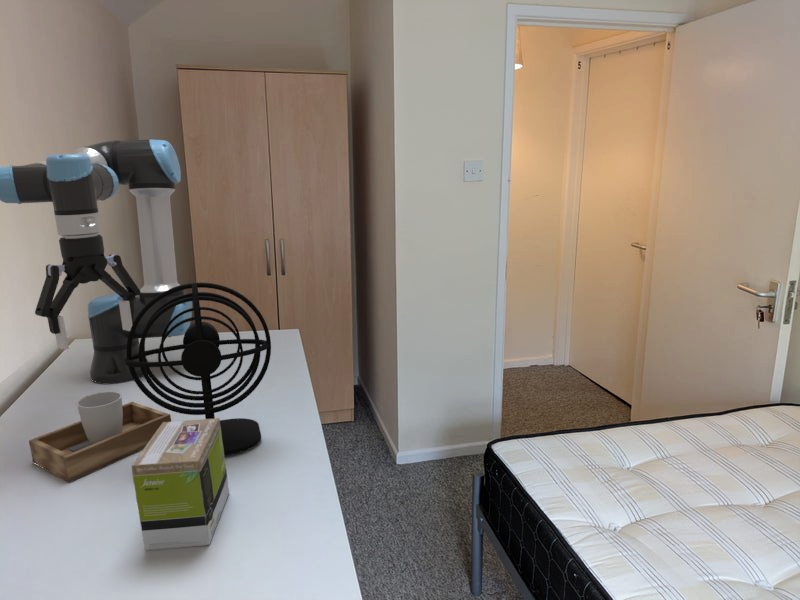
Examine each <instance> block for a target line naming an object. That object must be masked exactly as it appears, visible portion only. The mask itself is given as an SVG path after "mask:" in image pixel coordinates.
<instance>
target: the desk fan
mask: <svg viewBox="0 0 800 600" xmlns="http://www.w3.org/2000/svg"><path fill="white" fill-rule="evenodd" d="M199 288H200V289H202V288H204V289H205V288H206V289H214V290H219V291H222V292H225V293H228V294H230V295H232V296H234V297H236V298H238V299H239V300H241V301H242V302H244V303H245V304H246V305H247V306H248V307H249V308H250V309H251V310H252V311H253V312H254V313H255V315H256V316H257V318H258V319H259V321H260V323H261V325H262V328H263V330H264V335H265V339H260V337H259V333H258V330H257V328H256V326H255V323H254V321H253V320H252V318H251V316H250V315H249V313H248V312H247V311H246V310H245V309H244V308H243V306H241V305H240V304H239V303H237V302H236V301H234V300H233V299H231V298H229V297H227V296H225V295H221V294H219V293H213V292H207V291H205V292H204V291H202V292H201V291H199ZM188 289H191V290H192V291H191V292H189V293H184V295H181V296H178V297H176V298H173V299H171V300H170V301H168V302H166V303H165V304H163V305H162V306H161V307H160V308H159V309H158V310H157V311H156V312H155V313H154V314H153V315H152V316H151V318H150V319H149V321H148V323H147V324H146V327H145V329H144V332H143V334H142V337H141V338H140V339H139V353H136V354H133V355H132V340H133V336H134V332H135V329H136V327H137V325H138V323H139V321H140V320H141V318H142V317H143V315H144V314H145V313H146V312H147V311H148V309H149V308H150V307H152V306H153V305H154V304H155V303H156V302H158V301H159V300H161V299H162V298H164V297H166V296H168V295H170V294H172V293H174V292H177V291H180V290H184V291H185V290H188ZM189 301H192V308H191V309H187V310H185V311H183V312H181V313H179V314H177V315H176V316H175V317H174V318H172V319H171V321H170V322H169V323H168V324H167V326H166V327H165V329H164V332H163V335H162V337H161V339H160V344H159V347H157V348H154V349H153V348H152V349H149V350H148V349H147V350H146V347H145V346H146V339H147V338H146V335H147V332H148V331H149V329H150V327H151V326H152V324H153V323H154V322H155V321H156V319H157V318H158V317H159V316H161V315H162V314H163V313H164V312H166V311H167V310H169V309H170V308H172V307H174V306H176V305H179V304H182V303H185V302H189ZM200 301H208V302H215V303H218V304H222V305H224V306H227V307H228V308H231V309H232V310H234V312H237V314H239V315H241V317H242V318H243V319H244V320H245V321H246V322H247V324H248V325H249V326H250V328H251V330H252V333H253V336H254V338H241V335H240V331H239V329H238V327H237V324H235V322H234V320H232V318H230V316H228V315H227V314H226V313H225V312H224V311H223V312H222V311H221V310H219V309H215V308H213V307H207V306H201V305H200ZM190 311H192V312H193V314H194V316H192V317H191V318H188V319H185V320H183V321H181V322H179V323H177V324H176V325H174V326H173V327H172V328H171V329H170V330H169V331H168V332H167V333H166V331H167V329H168V328H169V326H170V325H171V323H172V322H173V321H174V320H175V319H177V318H178V317H179V316H181V315H183V314H185V313H187V312H190ZM201 311H210V312H214V313H216V314H218V315H221V316H222V317H224V318H225V319H226V320H227V321H228V322H229V323H230V324H231V325H232V326H233V327H231V326H230V324H228V323H226V322H224V321H223V320H221V319H218V318H215V317H211V316H206V315H205V316H202V314H201ZM202 320H206V321H207V320H208V321H212V322H215V323H219V324H221V325H223V326H224V327H225V328H227V329H228V330H229V331H230V332H231V333H232V334H233V336H235V338H236V339H233V338H232V339H220V334H219V332H218V329H217V328H216V327H215V326H214V325H213V324H211V323H209V322H206V321H202ZM189 321H194V322H193V323H192V324H190V326H189V328H188V329H187V330H186V332H185V334H184V336H183V339H182V344H177V345H170V346H165V347H164V343H165V342H166V339H167V338H168V337H167V336H168V335H169V334H170V333H171V332H172V331H173V330H174V329H175V328H177V327H178V326H180V325H181V324H183V323H186V322H189ZM233 328H234V329H233ZM165 333H166V334H165ZM244 344H245V345H248V344H249V345H254V348H251V349H247V350H244V349H243V345H244ZM221 345H223V346H224V345H237V348H236V349H237V350H236V352H233V353H232V352H231V353H226V354H222V352H221V350H220V348H219V347H220V346H221ZM180 350H183V351H182V353H181V356H180V360H168V357H167V356H166V352H172V351H180ZM263 351H265V358H264V362H263V365H262V368H261V370H260V371H259V373H258V375H257V377H256V378H255V380H254V381H253V383H252V384H251V382H252V380H253V378H254V377H255V375H256V373H257V372H258V371H257V370H258V368H259V365H260V361H261V352H263ZM156 354H157V361H148V359H147V356H152V355H156ZM249 355H253V357H252V359H251V363H250V365H249V366H248V369H246V370H247V371H246V372H245V373H244V374H243V375H242V377H241V378H240V379H239V380H238V381H236V382H235V383H234V384H232V385H231V386H229V387H228V388H226V386H228V385H229V384H230V383H232V382H233V381H234V380H235V378H236V377H237V375H239V372H240V370H241V368H242V364H243V361H244V357H245V356H246V357H247V356H249ZM271 356H272V342H271V336H270V330H269V328H268V326H267V323H266V320H265V318H264V316H263V314H262V313H261V312H260V311H259V309H258V307H257V306H256V305H255V304H254V303H253V302H252V301H251V300H249V299H248V298H247V297H246V296H244V295H243V294H241V293H240V292H238V291H237V290H234V289H232V288H231V287H227V286H225V285H222V284H221V285H220V284H217V283H211V282H192V283H191V282H190V283H185V284H180V286H176V287H173V288H171V289H169V290H166V291H164V292H163V293H161V294H159V295H158V296H156V297H155V298H153V299H152V300H151V301H150V302H149V303H148V304H147V305H146V306H145V307H144V308H143V309H142V310H141V311H140V313H139V314H138V316H137V317H136V319H135V321H134V323H133V325H132V327H131V330H130V332H129V336H128V340H127V357H126V358H125V365H127V366H129V370H130V373H131V375H132V377H133V381H134V383H135V384H136V386H137V387H138V389H139V390H140V391H141V392H142V393H143V394H144V395H145V397H147V398H148V399H149V400H150V401H152V402H153V403H155V404H156V405H158V406H159V407H161V408H164V409H165V410H169V411H171V412H174V413H178V414H180V415H181V414H182V415H188V416H189V415H191V416H204V417H205V418H204V419H214V418H216V416H215V413H220V412H224V411H225V410H228V409H230V408H232V407H234V406H236V405H238V404H239V403H241V402H243V401H244V400H245V399H246V398H248V397H249V395H251V394H252V393H253V392H254V391H255V390H256V388H258V386H259V385H260V383H261V382H262V380H263V379H264V377H265V375H266V373H267V370H268V367H269V364H270V360H271ZM162 357H163V360H164V361H162ZM138 358H139V362H137V361H133V360H135V359H138ZM238 358H240V359H239V363H238V365H237V368H236V369H235V371H234V373H233V375H231V377H229V379H228V380H226V381H225V382H224V383H223V384H221V385H219V386H217V387H215V388H212V381H211V380H212V379H215V378H218V377H219V376H222V375H223V374H225V373H226V372H228V371H229V370H230V368H231V367H233V365H234V364H235V362H236V361H237V359H238ZM146 359H147V360H146ZM225 360H231V362H230V363H229V364H228V365H227V366H226V367H225V368H224V369H222V370H221V371H220V372H217V373H215V372H216V371H217V370H218V369H219V368H220V366H221V363H222V361H225ZM147 361H148V362H147ZM178 366H182V367H183V369H184V370H185V371H186V372H187V373H188V375H187V374H185V373H183V372H181V371H179V370H178V369H177V368H175V367H178ZM135 367H140V368H141V371H142V374H143V376H142V377H143V378H144V379H145V381H146V383H147V384H148V385H149V387H150V388H151V389H152V390H153V391H154V392H155V393H156V394H158V396H160V397H161V398H159V397H158V396H157V395H155V394H154V393H153V392H151V391H150V390H149V389H148V387H147V386H146V385H145V384H144V382H143V381H142V379H141V377H139V376H138V374H137V372H136V370H135ZM164 367H165V368H167V367H169V369H171V371H173V372H174V373H175V374H177V375H178V376H180V377H183V378H184V379H187V380H192V381H201V389H202V390H192V389H188V388H184V387H182V386H180V385H178V384H177V383H175V382H174V381H173V380H172V379H171V378H170V377H169V376H168V375H167V373H166V371H165V370H164ZM152 368H159V370H160V372H161V374H162V376H163V377H164V379H165V380H166V381H167V382H168V383H169V384H170V385H171V386H172V387H174V388H175V389H177V390H179V391H181V392H184V393H180V392H178V391H175V390H173V389H171V388H169V387H168V386H167V385H165V384H163V382H161V381H160V380H159V379H158V378H157V376H155V374H154V373H153V371H152ZM213 373H215V374H213ZM189 374H190V375H189ZM212 374H213V375H212ZM191 375H192V376H191ZM249 384H251V385H250V386H249ZM248 386H249V388H247V387H248ZM223 388H225V389H224V390H222V389H223ZM246 388H247V389H246ZM245 389H246V390H245ZM220 390H221V391H220ZM243 390H245V391H244V392H243ZM218 391H219V392H218ZM165 392H166V393H165ZM241 392H243V393H242V394H241ZM185 393H187V394H185ZM229 393H230V394H229ZM189 394H190V395H189ZM239 394H240V395H239ZM170 395H171V396H170ZM225 395H226V396H225ZM238 395H239V396H238ZM173 396H174V397H173ZM223 396H224V397H223ZM236 396H238V397H236ZM221 397H222V398H221ZM235 397H236V398H235ZM162 398H163V399H164V400H166V401H168V402H166V401H164V400H163V399H162ZM177 398H179V399H177ZM218 398H219V399H218ZM233 398H234V399H233ZM180 399H183V400H180ZM215 399H216V400H215ZM231 399H232V400H231ZM184 400H186V401H184ZM188 400H189V401H196V402H189V401H188ZM197 401H198V402H197ZM200 401H203V402H200ZM228 401H229V402H228ZM172 403H173V404H172ZM224 403H225V404H224ZM174 404H175V405H174ZM220 404H221V405H220ZM176 405H177V406H176ZM181 406H182V407H181ZM185 407H187V408H185ZM220 426H221V434H222V442H223V449H224V456H230V455H234V454H235V455H236V454H239V453H242V452H246V451H248V450H250V449H252V448H254V447H256V446H257V445H259V444H260V442H261V441H262V433H261V429H260V428H261V427H260V424H259V422H257V421H256V420H254V419H250V418H242V417H241V418H239V417H238V418H228V419H221V420H220Z"/></svg>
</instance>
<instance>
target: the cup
mask: <svg viewBox="0 0 800 600" xmlns="http://www.w3.org/2000/svg"><path fill="white" fill-rule="evenodd" d="M122 396H123V395H122V394H121V393H120V392H117V391H102V392H97V393H92V394H90V395H86V396H84V397H82V398H80V399H79V400H77V402H76V405H77V409H78V415H79V417H80V421H81V423H82V425H83V428H84V431H85V433H86V436H87V438H88V440H89V442H90V443H91V445H93V444H95V443H97V442H100V441H102V440H105V439H107V438H110V437H112V436H114V435H117V434H119V433H122V423H123V409H122V405H123V398H122Z"/></svg>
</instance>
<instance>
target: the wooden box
mask: <svg viewBox="0 0 800 600" xmlns="http://www.w3.org/2000/svg"><path fill="white" fill-rule="evenodd" d="M122 409H123V423H122V433H119V434H117V435H114V436H112V437H110V438H107V439H105V440H102V441H100V442H97V443H95V444H93V445H91V443H90V442H89V440H88V438H87V436H86V433H85V431H84V428H83V425H82V423H81V420H80V421H77V422H74V423H72V424H68V425H66V426H64V427H61V428H58V429H56V430H53V431H50V432H48V433H45V434H42V435H39V436H38V437H34V438H32V439H29V440H28V442H29V443H28V444H29V448H30V453H31V459H32V463H33V462H34V463H36V464H38V465H39V466H41V467H43V468H44V469H43V468H42V469H43V470H45V469H46V470H45V471H47V470H48V471H47V472H49V471H50V472H49V473H51V474H53V475H55V476H57V477H58V478H61V479H63V480H65V481H67V482H68V483H73V482H76V480H77V481H78V480H79V479H81V478H83V477H86V476H87V475H90V474H92V473H95V472H97V471H99V470H101V469H103V468H105V467H107V466H110V465H112V464H114V463H116V462H119V461H121V460H123V459H125V458H128V457H131V456H132V455H135V454H136V453H138V452H142V451H143V449H144V448H145V446H146V445H147V444H148V442H149V441H150V439H151V438H152V437H153V435H154V434H155V432H156V431H157V429H158V428H159V427H160V425H161V424H162V423H163V422H172V418H171V414H170V413H167V412H164V411H162V410H158V409H156V408H152V407H150V406H145V405H143V404H140V403H138V402H134V401H131V402H128V403H125V404H122ZM39 466H38V467H39ZM41 467H40V468H41Z"/></svg>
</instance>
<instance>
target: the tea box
mask: <svg viewBox="0 0 800 600" xmlns="http://www.w3.org/2000/svg"><path fill="white" fill-rule="evenodd" d="M225 456H226V455H225ZM225 456H224V449H223V442H222V434H221V426H220V417H215V418H214V419H206V418H202V419H194V420H193V419H192V420H191V419H190V420H179V421H178V420H177V421H171V422H163V423H162V424H161V425H160V427H159V428H158V429H157V431H156V432H155V434H154V435H153V437H152V438H151V439H150V441H149V442H148V444H147V445H146V446H145V448H144V449H143V450H141V451H140V453H139V455H138V456H137V457H136V459H135V461H134V462H133V463H132V464H131V473H132V479H133V485H134V491H135V498H136V503H137V509H138V515H139V516H138V517H139V522H140V528H141V534H142V541H143V545H144V549H145V550H146V551H155V550H156V551H158V550H166V549H167V550H169V549H179V548H180V549H182V548H193V547H194V548H195V547H205V546H210V544H211V542H212V540H213V539H212V538H213V536H214V533H215V530H216V528H217V525H218V523H219V520H220V518H221V516H222V512H223V510H224V508H225V505H226V501H227V499H228V496H229V493H230V489H229V481H228V480H229V479H228V474H227V464H226V457H225Z"/></svg>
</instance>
